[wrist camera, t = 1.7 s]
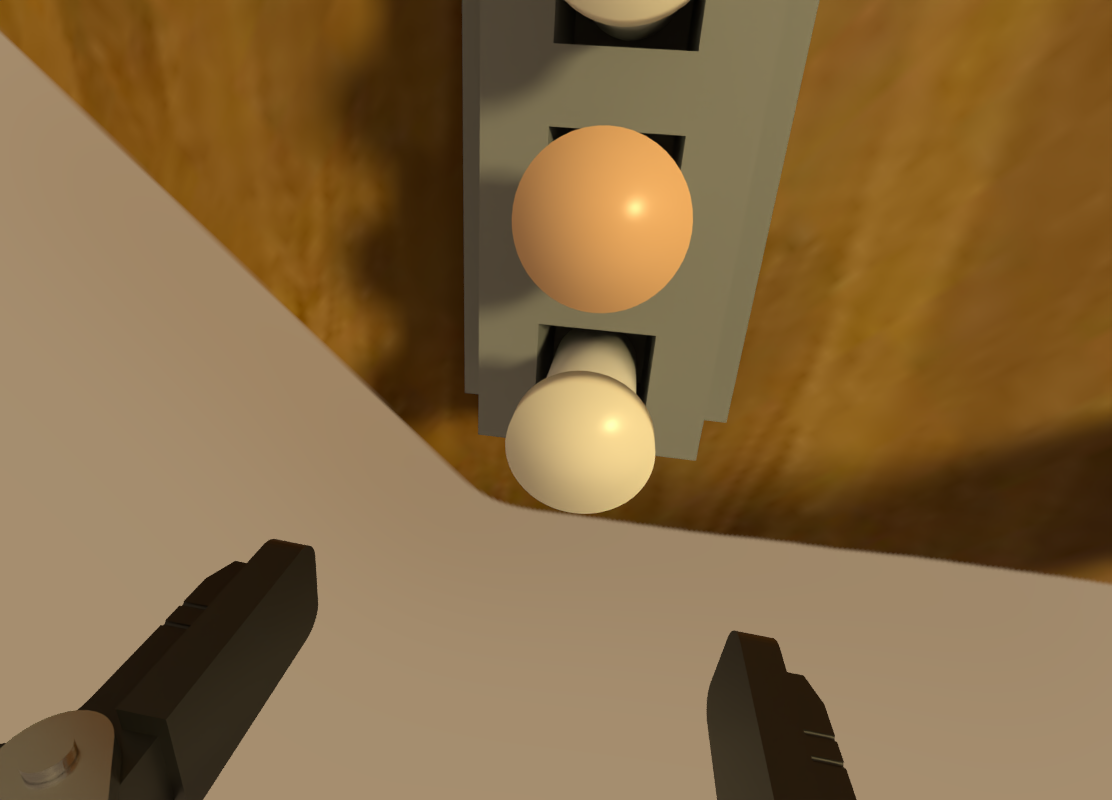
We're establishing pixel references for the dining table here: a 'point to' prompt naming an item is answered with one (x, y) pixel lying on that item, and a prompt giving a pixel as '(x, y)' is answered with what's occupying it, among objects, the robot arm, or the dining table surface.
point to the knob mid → (602, 219)
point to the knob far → (584, 427)
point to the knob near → (629, 15)
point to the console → (674, 124)
